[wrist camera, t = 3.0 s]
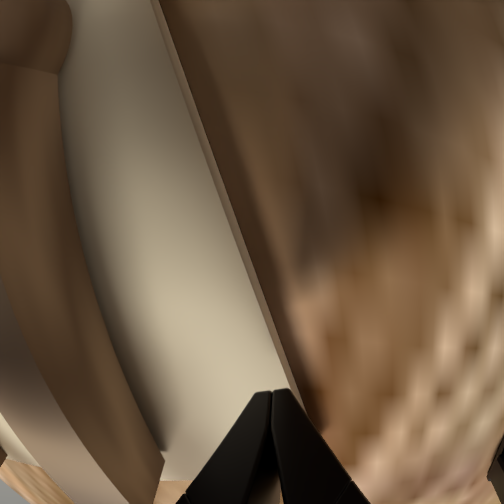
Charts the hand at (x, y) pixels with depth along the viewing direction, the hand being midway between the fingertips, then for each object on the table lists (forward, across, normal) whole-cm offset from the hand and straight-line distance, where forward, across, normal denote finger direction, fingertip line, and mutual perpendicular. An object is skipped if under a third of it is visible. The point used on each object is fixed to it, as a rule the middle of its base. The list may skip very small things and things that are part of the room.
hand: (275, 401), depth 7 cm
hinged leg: (+1, +6, -4) cm, 7 cm away
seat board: (+3, +12, -4) cm, 13 cm away
